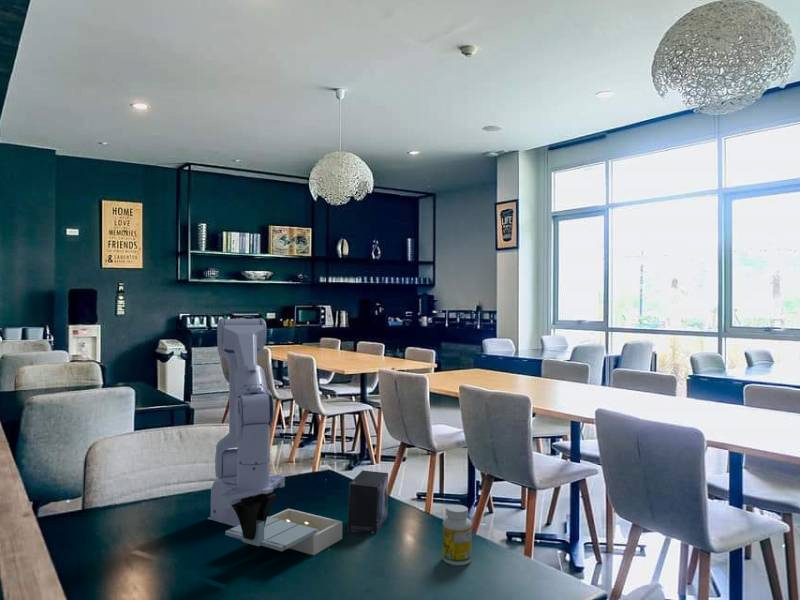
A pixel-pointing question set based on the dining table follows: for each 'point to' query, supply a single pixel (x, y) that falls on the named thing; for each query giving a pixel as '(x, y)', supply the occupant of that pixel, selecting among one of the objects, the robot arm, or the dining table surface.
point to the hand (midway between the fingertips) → (253, 536)
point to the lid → (275, 533)
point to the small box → (368, 502)
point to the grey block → (326, 526)
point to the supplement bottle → (457, 536)
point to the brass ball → (304, 523)
